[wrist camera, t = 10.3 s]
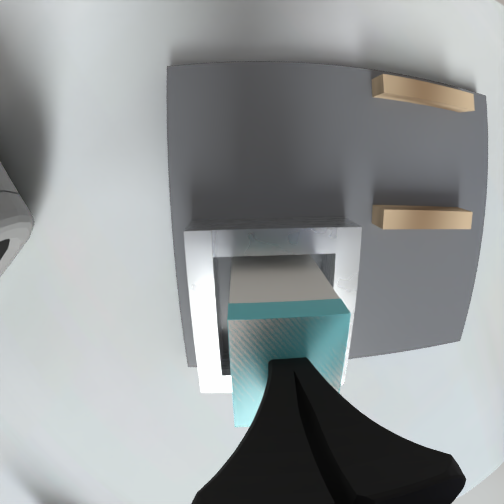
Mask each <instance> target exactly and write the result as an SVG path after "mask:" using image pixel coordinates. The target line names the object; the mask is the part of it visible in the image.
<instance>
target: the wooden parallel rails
mask: <svg viewBox="0 0 504 504" xmlns="http://www.w3.org/2000/svg"><path fill="white" fill-rule="evenodd" d="M372 97H375V98H383V99H390V100H397V101H403V102H410V103H415V104H421V105H426V106H432V107H437V108H442V109H446V110H451V111H455V112H468V111H475V108H474V94H472V93H468V92H465V91H461V90H457V89H453V88H450V87H446V86H442V85H437V84H433V83H429V82H424V81H420V80H415V79H410V78H405V77H399V76H394V75H388V74H381V75H379V76H378V77H376V78H374V79H372ZM472 214H473V212H471V211H468V210H465V209H462V208H459V207H438V206H407V205H373V207H372V224H374V225H376V226H378V227H379V228H381V229H471V224H472Z"/></svg>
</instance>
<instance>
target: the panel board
mask: <svg viewBox="0 0 504 504" xmlns="http://www.w3.org/2000/svg"><path fill="white" fill-rule="evenodd" d="M381 74H388V75H394V76H399V77H405V78H410V79H415V80H420V81H424V82H429V83H433V84H437V85H442V86H446V87H450V88H453V89H457V90H461V91H465V92H468V93H472V94H474V108H475V111H468V112H455V111H451V110H446V109H442V108H437V107H432V106H426V105H421V104H415V103H410V102H403V101H397V100H390V99H383V98H375V97H372V79H374V78H376V77H378V76H379V75H381ZM167 140H168V168H169V188H170V205H171V219H172V233H173V245H174V256H175V267H176V277H177V286H178V295H179V304H180V312H181V320H182V328H183V335H184V343H185V350H186V357H187V363H188V367H197V359H196V351H195V343H194V335H193V327H192V318H191V309H190V299H189V289H188V279H187V268H186V256H185V243H184V230H185V229H186V228H187V226H188V225H189V223H190V222H191V221H192V220H214V219H245V218H288V217H346V218H348V219H350V220H351V221H353V222H354V223H356V224H358V225H359V226H361V227H362V234H361V249H360V262H359V274H358V284H357V294H356V303H355V312H354V320H353V328H352V335H351V342H350V349H349V356H348V359H352V358H361V357H369V356H376V355H383V354H390V353H397V352H403V351H409V350H415V349H421V348H426V347H432V346H437V345H442V344H447V343H452V342H457V341H460V339H461V336H462V332H463V329H464V325H465V321H466V317H467V313H468V309H469V305H470V301H471V296H472V292H473V287H474V282H475V277H476V272H477V266H478V261H479V255H480V248H481V241H482V234H483V226H484V217H485V206H486V193H487V175H488V122H487V104H486V96H485V95H482V94H479V93H476V92H472V91H469V90H465V89H462V88H458V87H455V86H451V85H447V84H443V83H439V82H435V81H431V80H426V79H422V78H417V77H412V76H407V75H402V74H396V73H391V72H385V71H378V70H372V69H365V68H357V67H349V66H339V65H329V64H317V63H301V62H272V61H245V62H216V63H201V64H188V65H178V66H168V67H167ZM373 205H407V206H438V207H459V208H462V209H465V210H468V211H471V212H473V214H472V224H471V229H381V228H379V227H378V226H376V225H374V224H372V207H373ZM310 255H311V257H312V258H313V259H314V261H315V262H316V264H317V265H318V267H319V268H320V270H321V266H322V254H310ZM217 262H218V280H219V296H220V311H221V326H222V339H223V350H229V340H228V323H227V316H228V303H229V296H230V281H231V267H232V257H217Z"/></svg>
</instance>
